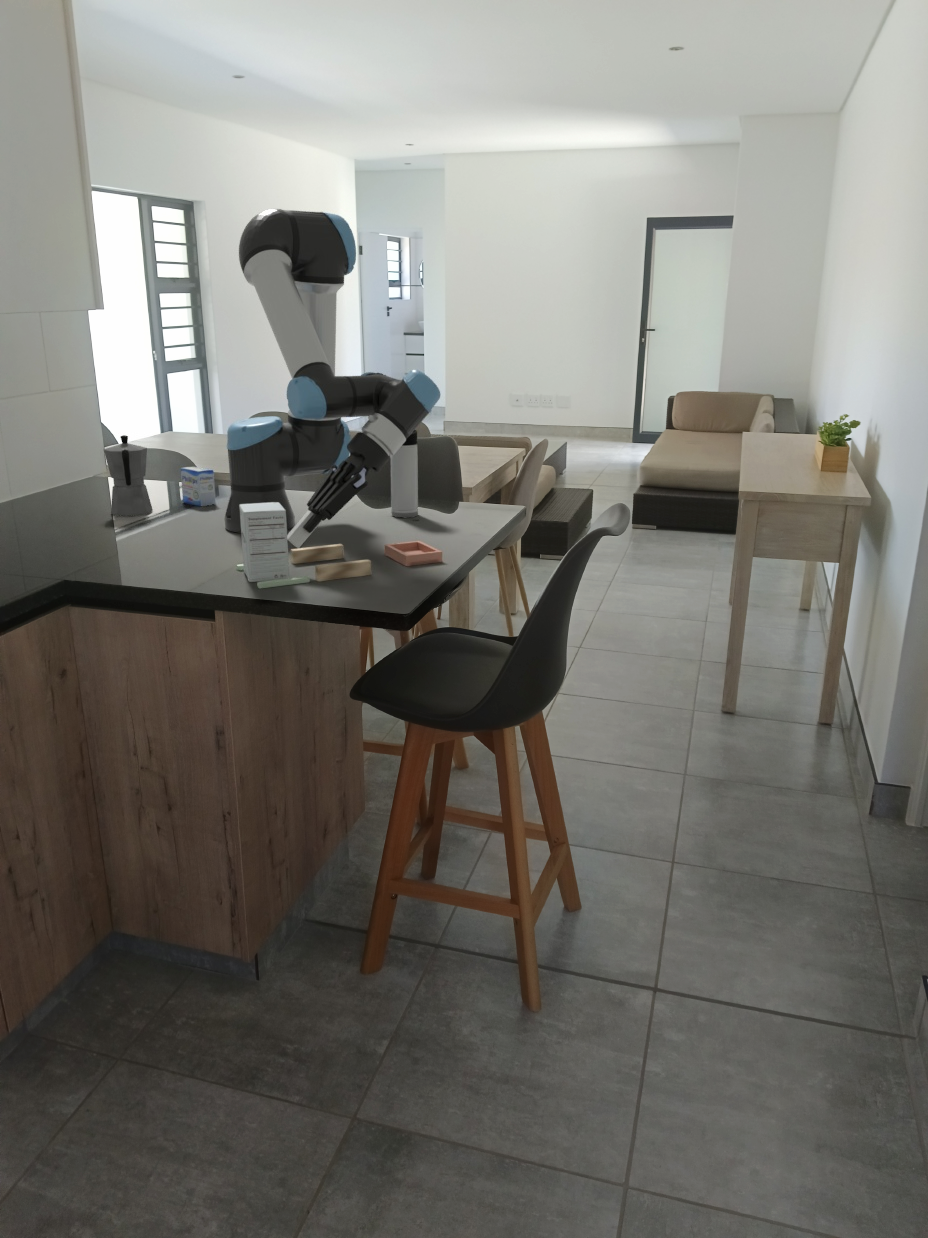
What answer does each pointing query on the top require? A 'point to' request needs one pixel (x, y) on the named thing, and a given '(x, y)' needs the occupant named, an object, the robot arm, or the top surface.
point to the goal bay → (278, 582)
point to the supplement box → (264, 541)
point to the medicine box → (198, 486)
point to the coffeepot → (128, 479)
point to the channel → (333, 569)
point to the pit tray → (413, 553)
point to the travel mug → (405, 479)
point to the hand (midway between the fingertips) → (291, 543)
